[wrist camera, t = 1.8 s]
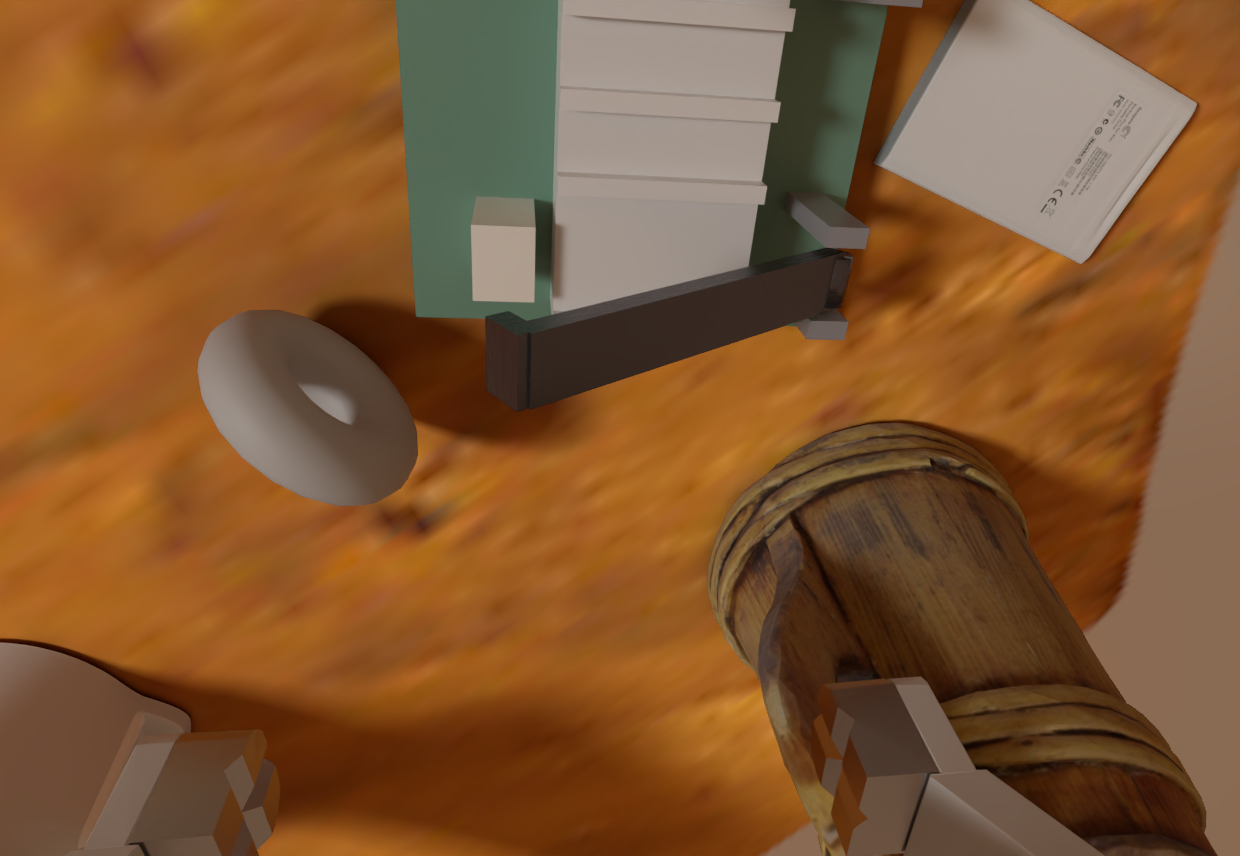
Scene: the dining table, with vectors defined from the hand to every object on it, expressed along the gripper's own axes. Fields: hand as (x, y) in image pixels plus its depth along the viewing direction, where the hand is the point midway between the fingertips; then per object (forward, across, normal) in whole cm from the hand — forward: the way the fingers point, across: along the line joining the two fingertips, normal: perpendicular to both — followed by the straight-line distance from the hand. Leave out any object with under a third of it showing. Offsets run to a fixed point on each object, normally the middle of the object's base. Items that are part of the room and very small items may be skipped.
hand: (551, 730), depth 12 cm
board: (+28, -4, -5) cm, 29 cm away
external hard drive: (+29, -23, -3) cm, 37 cm away
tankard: (+28, -16, +20) cm, 38 cm away
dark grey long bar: (+18, -5, +1) cm, 19 cm away
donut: (+28, +10, +7) cm, 30 cm away
